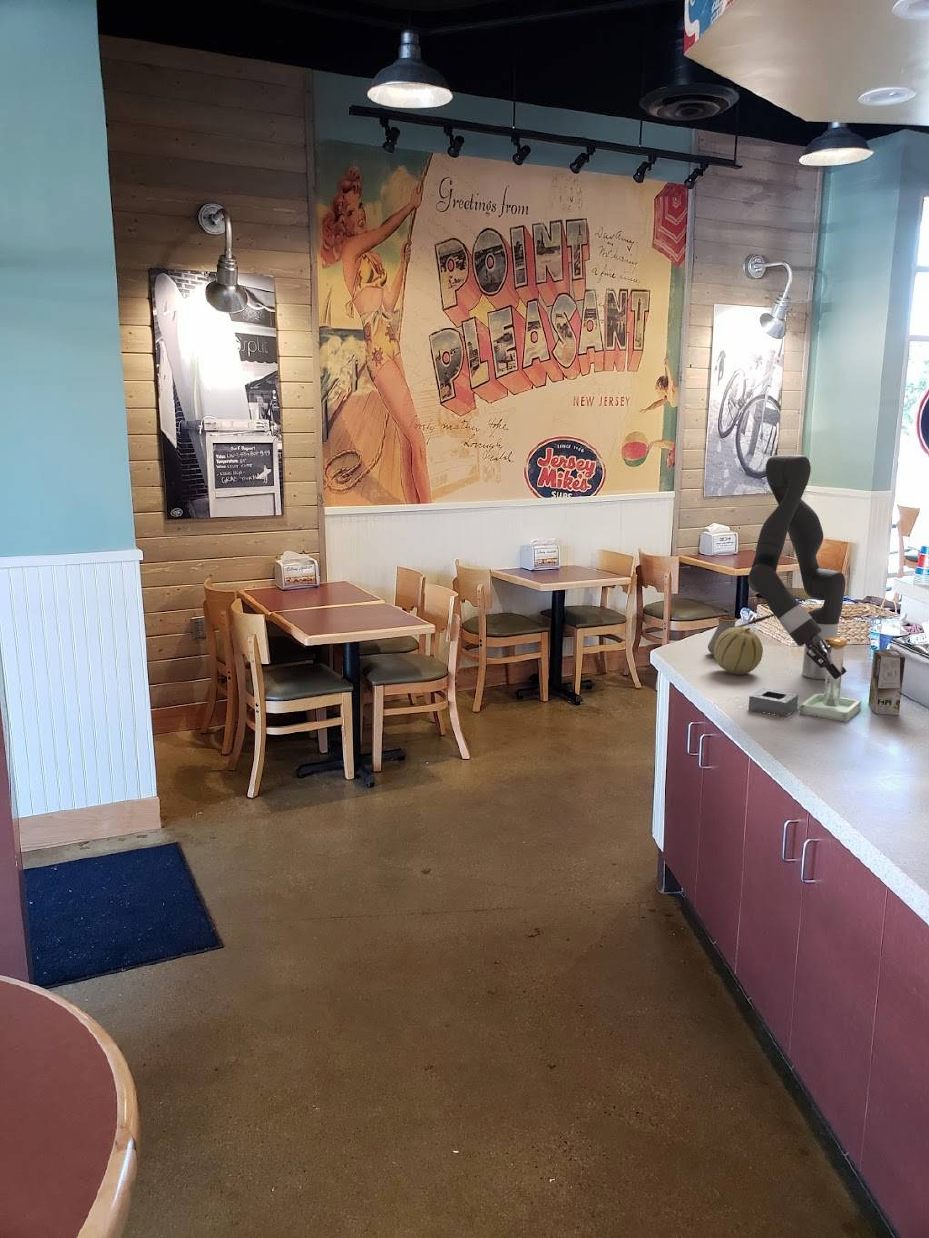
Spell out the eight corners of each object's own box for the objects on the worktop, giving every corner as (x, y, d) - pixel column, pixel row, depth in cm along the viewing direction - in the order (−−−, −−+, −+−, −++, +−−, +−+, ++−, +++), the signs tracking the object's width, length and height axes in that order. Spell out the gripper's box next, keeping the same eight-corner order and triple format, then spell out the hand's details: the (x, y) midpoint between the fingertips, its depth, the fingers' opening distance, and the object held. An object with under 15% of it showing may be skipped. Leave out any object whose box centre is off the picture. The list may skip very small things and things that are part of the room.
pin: (824, 700, 261) (830, 637, 257) (842, 704, 258) (849, 639, 254) (818, 704, 257) (824, 640, 253) (837, 708, 254) (844, 643, 251)
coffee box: (899, 715, 255) (906, 657, 252) (874, 713, 257) (880, 656, 253) (891, 705, 264) (898, 649, 261) (867, 704, 265) (873, 648, 262)
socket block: (761, 701, 266) (762, 688, 266) (797, 708, 261) (798, 694, 260) (748, 710, 259) (749, 696, 258) (784, 717, 253) (786, 702, 252)
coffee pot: (709, 659, 312) (712, 615, 309) (705, 651, 323) (707, 608, 320) (776, 662, 310) (779, 617, 306) (769, 653, 321) (773, 610, 318)
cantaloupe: (717, 665, 306) (720, 619, 302) (764, 670, 299) (768, 624, 296) (707, 675, 293) (710, 628, 289) (756, 682, 286) (760, 633, 283)
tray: (815, 701, 267) (816, 692, 267) (860, 709, 260) (861, 700, 260) (799, 713, 256) (800, 704, 256) (845, 722, 249) (846, 713, 249)
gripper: (802, 621, 252) (844, 673, 247) (818, 612, 263) (859, 662, 258) (780, 637, 256) (822, 689, 251) (797, 628, 267) (837, 677, 263)
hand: (841, 675), depth 255 cm, fingers closed on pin, 4 cm apart
